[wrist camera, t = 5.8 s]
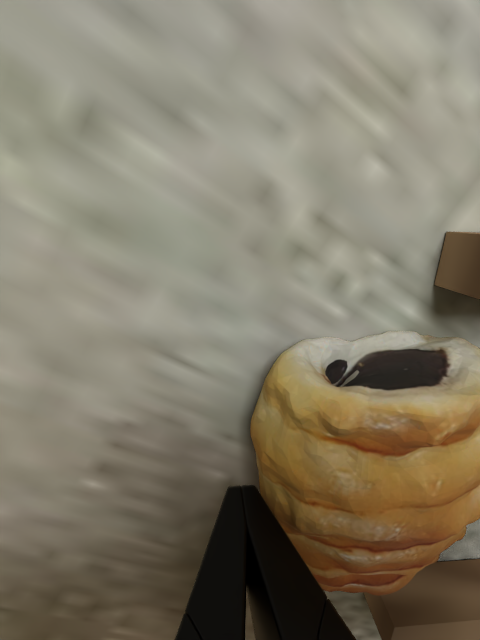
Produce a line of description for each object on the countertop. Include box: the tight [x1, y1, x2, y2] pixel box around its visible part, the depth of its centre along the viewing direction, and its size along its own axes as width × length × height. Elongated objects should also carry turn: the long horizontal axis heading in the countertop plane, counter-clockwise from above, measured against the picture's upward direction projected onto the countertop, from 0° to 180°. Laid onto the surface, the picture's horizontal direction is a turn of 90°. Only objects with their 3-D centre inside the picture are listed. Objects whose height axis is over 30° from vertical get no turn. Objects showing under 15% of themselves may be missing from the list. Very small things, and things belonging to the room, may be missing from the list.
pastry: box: [250, 331, 480, 596], centre depth 9 cm, size 9×7×4 cm
